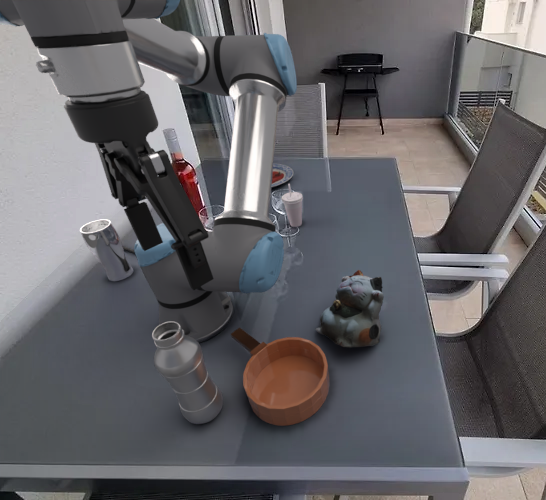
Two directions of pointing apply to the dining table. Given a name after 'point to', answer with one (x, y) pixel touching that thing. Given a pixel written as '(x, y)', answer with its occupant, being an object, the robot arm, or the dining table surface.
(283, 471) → the dining table surface
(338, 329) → the lucky cat figurine
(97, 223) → the silver metal cup
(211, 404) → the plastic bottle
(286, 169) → the ceramic plate
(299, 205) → the smoothie
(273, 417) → the pan
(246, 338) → the pan handle
